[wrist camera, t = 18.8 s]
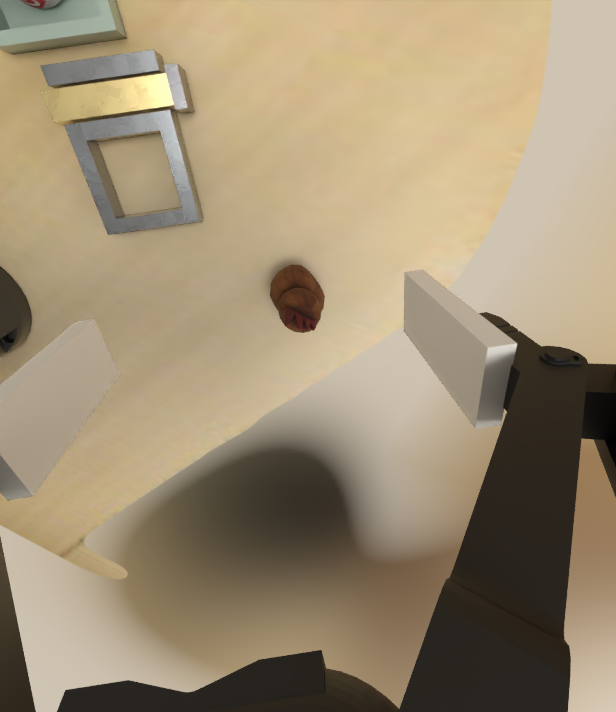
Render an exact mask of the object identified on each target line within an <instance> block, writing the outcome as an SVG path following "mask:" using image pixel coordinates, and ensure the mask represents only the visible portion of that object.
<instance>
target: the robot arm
mask: <svg viewBox="0 0 616 712" xmlns="http://www.w3.org/2000/svg"><path fill="white" fill-rule="evenodd" d="M30 326H31V314H30V309H29V306H28V303H27V300H26V298H25V296H24V294H23V293H22V291H21V289H20V288H19V286H18V285H17V284H16V283H15V281H14V280H13V279H12V278H11V277H10V276H9V275H8V274H7V273H6V272H5V271H4V270H3V269H2V268H0V357H2V356H4V355H6V354H8V353H9V352H11V351H12V350H13V349H15V348H16V347H17V346H19V345H20V344H21V343H22V342H23V341H24V340H25V338H26V337H27V335H28V333H29V330H30ZM404 332H405V333H406V334H407V336H408V337H409V339H410V340H411V341H412V343H413V344H414V345H415V347H416V348H417V350H418V351H419V352H420V354H421V355H422V356H423V357H424V359H425V361H426V362H427V363H428V365H429V366H430V367H431V368H432V370H433V371H434V373H435V374H436V376H437V377H438V378H439V380H440V381H441V382H442V384H443V385H444V386H445V388H446V389H447V391H448V392H449V393H450V395H451V396H452V397H453V399H454V400H455V401H456V403H457V404H458V406H459V407H460V408H461V410H462V411H463V413H464V414H465V415H466V416H467V418H468V419H469V421H470V422H471V423H472V425H473V426H474V428H482V427H490V426H496V425H501V421H502V416H503V411H504V409H505V410H506V411H507V414H506V416H505V419H504V422H503V426H502V428H501V431H500V434H499V437H498V440H497V443H496V446H495V449H494V451H493V454H492V457H491V460H490V463H489V466H488V469H487V472H486V475H485V478H484V481H483V484H482V486H481V489H480V492H479V495H478V498H477V501H476V504H475V507H474V510H473V513H472V516H471V519H470V522H469V525H468V527H467V530H466V533H465V536H464V539H463V542H462V545H461V548H460V551H459V554H458V557H457V560H456V563H455V565H454V568H453V571H452V574H451V576H450V578H448V579H447V580H446V582H445V584H444V586H443V588H442V591H441V594H440V596H439V599H438V601H437V604H436V607H435V610H434V612H433V615H432V618H431V621H430V624H429V627H428V630H427V633H426V636H425V638H424V641H423V644H422V647H421V649H420V653H419V655H418V658H417V661H416V664H415V667H414V669H413V672H412V675H411V678H410V681H409V684H408V687H407V689H406V692H405V695H404V698H403V701H402V703H401V706H400V709H399V708H398V707H396V706H395V705H394V704H393V703H392V702H391V701H390V700H389V699H388V698H387V697H386V696H384V695H383V694H382V693H380V692H379V691H377V690H376V689H375V688H374V687H372V686H371V685H369V684H367V683H366V682H364V681H362V680H360V679H358V678H357V677H354V676H351V675H349V674H346V673H343V672H341V671H336V670H331V669H326V667H325V663H324V658H323V655H322V651H321V650H319V651H312V652H306V653H300V654H294V655H287V656H281V657H274V658H268V659H261V660H258V661H256V662H254V663H252V664H250V665H247V666H245V667H243V668H241V669H239V670H237V671H235V672H233V673H231V674H229V675H227V676H225V677H223V678H221V679H219V680H217V681H215V682H213V683H211V684H209V685H207V686H205V687H203V688H200V689H198V690H196V691H194V692H188V693H186V692H180V691H175V690H171V689H166V688H162V687H157V686H152V685H147V684H143V683H138V682H134V681H129V680H128V681H121V682H115V683H109V684H102V685H96V686H90V687H83V688H77V689H70V690H65V693H64V696H63V698H62V700H61V703H60V706H59V708H58V711H57V712H568V699H569V686H570V662H571V660H570V659H571V658H570V650H569V645H568V644H567V643H566V641H565V640H564V620H565V609H566V599H567V588H568V577H569V565H570V555H571V544H572V534H573V523H574V512H575V501H576V491H577V480H578V469H579V458H580V447H581V438H584V439H594V441H595V444H596V446H597V449H598V452H599V454H600V457H601V460H602V462H603V465H604V468H605V470H606V473H607V476H608V478H609V481H610V483H611V486H612V488H613V491H614V494H615V496H616V364H588V362H587V360H586V358H585V357H583V356H582V355H581V354H579V353H577V352H575V351H572V350H570V349H566V348H562V347H555V346H543V347H541V346H540V345H538V344H537V343H535V342H534V341H533V340H531V339H530V338H528V337H527V336H526V335H524V334H523V333H521V332H520V331H518V330H517V329H516V328H515V327H513V326H510V324H509V323H508V322H506V321H505V320H504V319H502V318H501V317H498V316H496V315H493V314H490V313H487V312H486V313H478V312H476V311H475V310H474V309H473V308H471V307H470V306H468V305H467V304H466V303H465V302H464V301H462V300H461V299H460V298H458V297H457V296H456V295H454V294H453V293H452V292H451V291H449V290H448V289H447V288H446V287H444V286H443V285H442V284H440V283H439V282H438V281H437V280H435V279H434V278H433V277H431V276H430V275H429V274H428V273H426V272H425V271H424V270H417V271H411V272H405V286H404ZM119 374H120V372H119V370H118V368H117V366H116V364H115V362H114V360H113V358H112V355H111V353H110V351H109V349H108V347H107V345H106V343H105V341H104V339H103V337H102V334H101V332H100V330H99V328H98V326H97V324H96V322H95V320H94V319H89V320H82V321H76V322H74V323H73V324H72V325H71V326H70V327H68V328H67V329H66V330H65V331H64V332H63V333H61V334H60V335H59V336H58V337H57V338H55V339H54V340H53V341H52V342H51V343H49V344H48V345H47V346H46V347H45V348H43V349H42V350H41V351H40V352H39V353H37V354H36V355H35V356H34V357H33V358H31V359H30V360H29V361H28V362H27V363H25V364H24V365H23V366H22V367H21V368H19V369H18V370H17V371H16V372H15V373H13V374H12V375H11V376H10V377H9V378H8V379H6V380H5V381H4V382H3V383H2V384H0V492H1V493H2V495H3V496H4V497H5V498H6V499H7V500H12V499H18V498H25V497H31V496H34V495H35V493H36V492H37V490H38V489H39V488H40V486H41V485H42V483H43V482H44V480H45V479H46V478H47V476H48V475H49V473H50V472H51V471H52V469H53V468H54V466H55V465H56V463H57V462H58V461H59V459H60V458H61V456H62V455H63V454H64V452H65V451H66V449H67V448H68V447H69V445H70V444H71V442H72V441H73V439H74V438H75V437H76V435H77V434H78V432H79V431H80V430H81V428H82V427H83V425H84V424H85V423H86V421H87V420H88V418H89V417H90V415H91V414H92V413H93V411H94V410H95V408H96V407H97V406H98V404H99V403H100V401H101V400H102V398H103V397H104V396H105V394H106V393H107V391H108V390H109V389H110V387H111V386H112V384H113V383H114V382H115V380H116V379H117V377H118V376H119ZM0 712H36V711H35V706H34V702H33V697H32V691H31V686H30V682H29V677H28V672H27V667H26V662H25V657H24V652H23V647H22V642H21V637H20V632H19V627H18V622H17V617H16V612H15V608H14V603H13V598H12V593H11V588H10V583H9V578H8V573H7V568H6V563H5V558H4V553H3V548H2V543H1V538H0Z"/></svg>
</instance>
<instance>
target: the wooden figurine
mask: <svg viewBox="0 0 616 712" xmlns="http://www.w3.org/2000/svg"><path fill="white" fill-rule="evenodd" d="M270 297H271V299H272V301H273V303H274V305H275V307H276V308H277V310H278V311H279V315H280V319H281V320H282V322H283V323H284V325H285V326H286V327H287V328H289V329H290V330H292V331H295V332H301V333H304V332H309V331H311V330H313V331H314V329H315V328H316V325H317V323H318V322H319V320H320V316H321V311H322V309H323V306H324V297H325V296H324V293H323V291H322V289H321V287H320V285H319V284H318V282H317V281H316V279H315V278H314V277H313V276H312V274H311V273H310V272H309V271H308V270H307V269H305V268H304V267H302V266H301V265H290V266H288V267H286V268H284V269H283V270H282V271H280V272H279V273H278V274H277V275H276V277H275V278H274V280H273V281H272V283H271V290H270Z"/></svg>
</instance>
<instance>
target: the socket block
mask: <svg viewBox="0 0 616 712" xmlns="http://www.w3.org/2000/svg"><path fill="white" fill-rule="evenodd" d="M41 68H42V71H43V73H44V76H45V78H46V81H47V83H48V86H50V87H53V88H64V87H71V86H78V85H85V84H92V83H99V82H106V81H113V80H120V79H127V78H134V77H141V76H148V75H155V74H162V73H166V72H165V68H164V64H163V61H162V57H161V55H159V54H158V53H157V52H156V51H155V50H147V51H140V52H133V53H126V54H119V55H112V56H105V57H98V58H91V59H84V60H77V61H70V62H63V63H56V64H49V65H42V66H41ZM64 126H65V128H66V131H67V133H68V136H69V138H70V141H71V143H72V146H73V148H74V151H75V153H76V156H77V158H78V161H79V163H80V166H81V168H82V171H83V173H84V176H85V178H86V181H87V183H88V186H89V188H90V191H91V193H92V196H93V198H94V201H95V203H96V206H97V208H98V211H99V213H100V216H101V218H102V221H103V223H104V226H105V228H106V231H107V233H108V235H110V234H117V233H124V232H131V231H137V230H144V229H151V228H158V227H165V226H171V225H178V224H185V223H192V222H199V221H201V220H202V219H203V214H202V210H201V206H200V203H199V199H198V195H197V191H196V187H195V183H194V180H193V176H192V172H191V168H190V164H189V160H188V157H187V153H186V149H185V145H184V141H183V137H182V134H181V130H180V126H179V122H178V118H177V114H176V112H174V111H171V110H166V111H159V112H152V113H145V114H138V115H131V116H124V117H117V118H110V119H103V120H96V121H90V122H83V123H76V124H69V125H64ZM159 132H161V136H162V139H163V143H164V146H165V150H166V153H167V157H168V160H169V164H170V167H171V171H172V174H173V178H174V181H175V185H176V188H177V191H178V195H179V198H180V202H181V205H182V207H180V208H173V209H166V210H159V211H152V212H146V213H139V214H132V215H125V216H124V214H123V211H122V208H121V205H120V203H119V200H118V197H117V195H116V192H115V189H114V186H113V184H112V181H111V178H110V176H109V173H108V170H107V167H106V165H105V162H104V159H103V157H102V154H101V151H100V148H99V146H98V143H97V141H104V140H111V139H118V138H125V137H132V136H138V135H145V134H152V133H159Z"/></svg>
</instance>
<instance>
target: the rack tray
mask: <svg viewBox="0 0 616 712" xmlns="http://www.w3.org/2000/svg"><path fill="white" fill-rule="evenodd" d="M124 38H127V36H126V33H125V29H124V26H123V22H122V19H121V16H120V12H119V9H118V5H117V2H116V0H61V1H60V2H59V3H58V4H56V5H55V6H53V7H50V8H44V9H42V8H35V7H32V6H29V5H27V4H25V3H23V2H22V1H20V0H0V50H3V51H5V52H8V53H11V54H19V53H26V52H33V51H40V50H47V49H54V48H61V47H68V46H75V45H82V44H89V43H96V42H103V41H110V40H117V39H124Z"/></svg>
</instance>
